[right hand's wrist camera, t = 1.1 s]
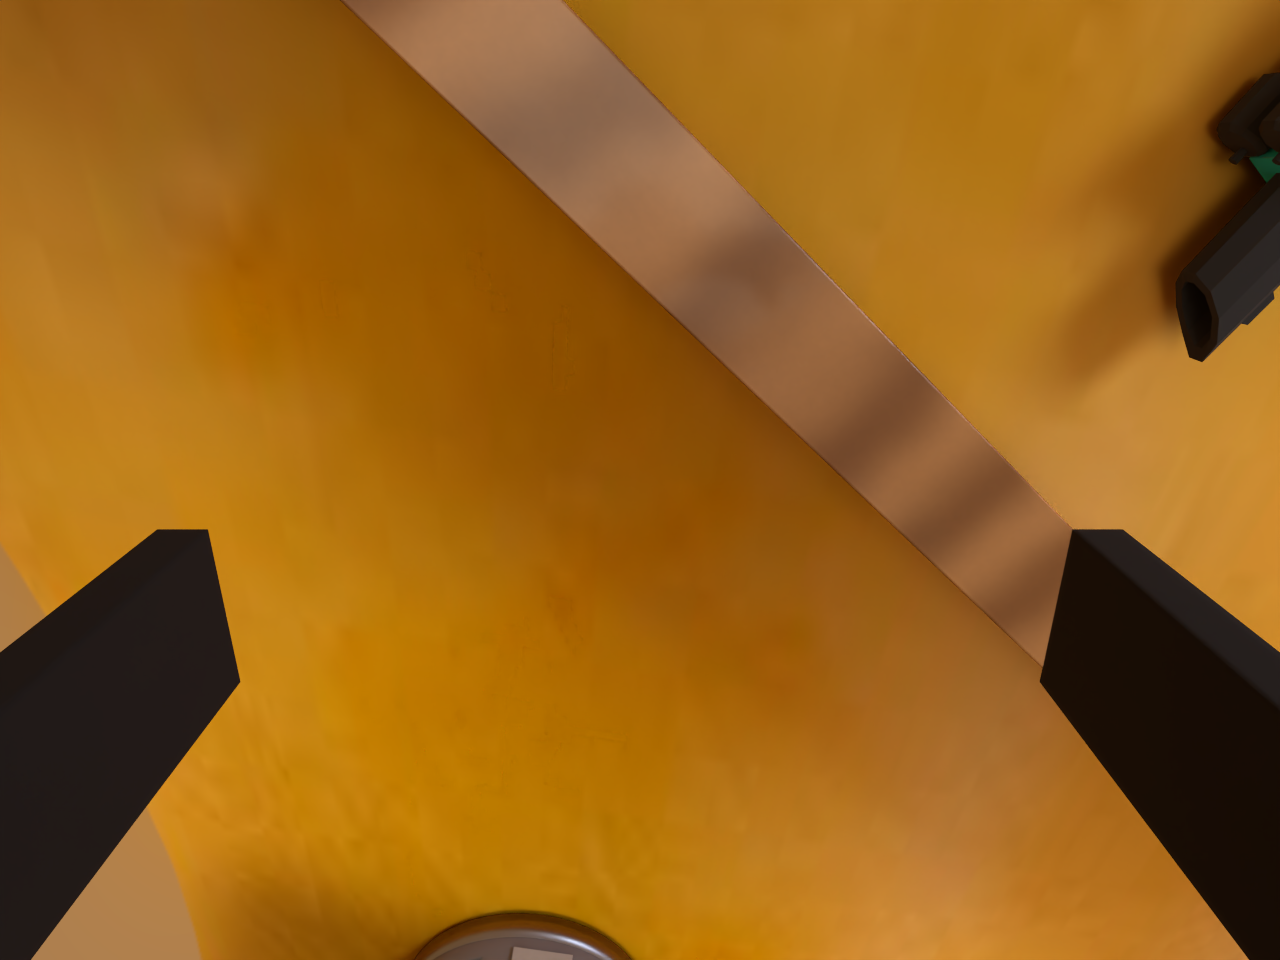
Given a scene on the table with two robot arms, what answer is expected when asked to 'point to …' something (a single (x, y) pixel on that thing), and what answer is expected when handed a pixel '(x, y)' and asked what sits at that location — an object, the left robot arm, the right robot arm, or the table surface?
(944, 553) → the beam
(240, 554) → the table surface
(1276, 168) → the toy gun
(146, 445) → the table surface
